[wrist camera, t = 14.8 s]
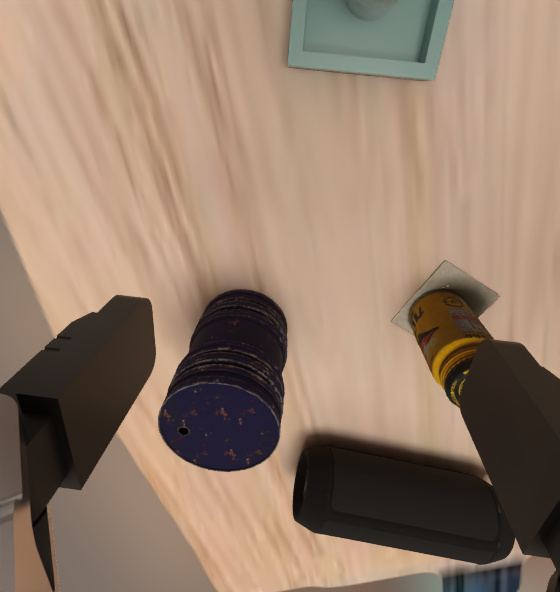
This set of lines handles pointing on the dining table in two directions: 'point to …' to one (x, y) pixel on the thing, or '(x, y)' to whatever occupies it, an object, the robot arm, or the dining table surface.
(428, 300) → the condiment
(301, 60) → the tray
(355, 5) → the pin
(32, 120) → the dining table surface
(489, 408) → the robot arm
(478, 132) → the dining table surface
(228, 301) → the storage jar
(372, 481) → the portable speaker
